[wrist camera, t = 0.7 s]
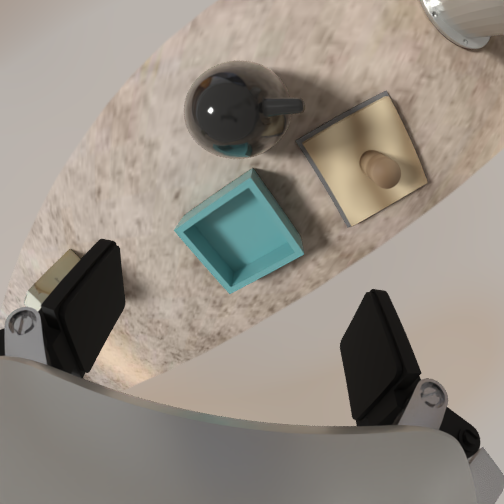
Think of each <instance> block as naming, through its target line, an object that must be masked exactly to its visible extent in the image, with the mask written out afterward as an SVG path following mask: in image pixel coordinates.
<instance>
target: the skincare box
mask: <svg viewBox="0 0 504 504" xmlns="http://www.w3.org/2000/svg"><path fill="white" fill-rule="evenodd" d="M79 261H80V258H79V257H78V256H77V255H76V254H75V253H74V252H73V251H72V250H70V249H69V250H68V251H67V252H66V253H65V254H64V255H63V256H62V257H61V258H60V259H59V260H58V261H57V262H56V263H55V264H54V265H53V266H52V267H50V268H49V269H48V270H47V271H46V272H45V273H44V274H43V275H42V276H41V277H40V279H39V280H38V281H37V282H36V283H35V284H34V285H33V286H32V287H31V288H30V289H29V290H28V291H27V294H26V297H25V301H24V305H25V306H26V307H31V308H34V309H35V310H37V311H39V310H40V308H41V304H42V303H43V302H44V300H45V299H46V298H47V297H48V296H49V294H50V293H51V292H52V291H53V290H54V289H55V287H56V286H57V285H58V284H59V283H60V282H61V280H62V279H63V278H64V277H65V276H66V275H67V274H68V273H69V271H70V270H71V269H72V268H73V267H74V266H75V265H76V264H77V263H78V262H79Z"/></svg>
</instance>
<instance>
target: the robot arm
mask: <svg viewBox="0 0 504 504" xmlns="http://www.w3.org/2000/svg"><path fill="white" fill-rule="evenodd" d="M420 2H421V5H422V7H423V9H424V11H425V13H426V14H427V16H428V18H429V19H430V20H431V22H432V23H433V24H434V26H435V27H436V28H437V29H438V30H439V31H440V32H441V33H442V34H443V35H444V36H445V37H446V38H447V39H449V40H450V41H452V42H453V43H455V44H457V45H459V46H460V47H463V48H467V49H479V48H481V47H484V46H485V45H486V44H487V43H488V41H489V39H490V36H497V35H504V0H420ZM124 307H125V294H124V286H123V277H122V267H121V256H120V248H119V246H117V245H116V242H114V241H111V240H106V239H100V240H99V241H98V242H97V243H96V244H95V245H94V246H93V247H92V248H91V249H90V250H89V251H88V252H87V253H86V254H85V255H84V256H83V257H82V258H81V259H80V261H79V262H78V263H77V264H76V265H75V266H74V267H73V268H72V269H71V270H70V271H69V273H68V274H67V275H66V276H65V277H64V278H63V279H62V280H61V282H60V283H59V284H58V285H57V286H56V287H55V289H54V290H53V291H52V292H51V293H50V294H49V296H48V297H47V298H46V299H45V300H44V302H43V303H42V304H41V308H40V310H39V311H37V310H35V309H34V308H31V307H22V308H19V309H16V310H15V311H13V312H12V313H11V314H10V315H9V316H8V318H7V320H6V322H5V328H4V329H1V330H0V504H495V502H496V501H497V499H498V497H499V496H500V494H501V493H502V491H503V488H504V475H503V473H502V472H501V470H500V469H499V468H498V466H497V465H496V464H495V462H494V461H493V460H492V458H491V457H490V456H489V454H488V453H487V452H486V450H485V449H484V448H483V447H482V448H480V449H479V447H480V437H479V434H478V432H477V430H476V429H475V428H474V427H473V426H472V425H471V424H469V423H468V422H467V421H465V420H464V419H463V418H461V417H460V416H458V415H457V414H456V413H454V412H453V411H451V410H450V409H449V408H448V407H447V404H448V396H447V393H446V390H445V389H444V388H443V386H442V385H441V384H440V383H439V382H437V381H435V380H433V379H429V378H426V379H422V380H421V379H420V376H419V375H420V374H421V371H420V368H419V366H418V363H417V360H416V358H415V355H414V353H413V350H412V348H411V345H410V343H409V340H408V338H407V336H406V333H405V331H404V329H403V326H402V324H401V322H400V319H399V317H398V315H397V313H396V310H395V308H394V306H393V304H392V302H391V299H390V297H389V295H388V293H387V292H386V291H382V290H375V289H372V290H371V291H370V292H367V293H366V294H365V295H364V298H363V300H362V302H361V304H360V306H359V308H358V310H357V311H356V313H355V315H354V318H353V320H352V321H351V323H350V325H349V327H348V329H347V330H346V332H345V334H344V336H343V338H342V340H341V343H340V350H341V356H342V361H343V366H344V372H345V376H346V382H347V388H348V394H349V400H350V406H351V412H352V417H353V419H355V420H356V424H357V426H303V425H288V424H276V423H266V422H257V421H248V420H241V419H234V418H228V417H222V416H216V415H210V414H205V413H200V412H195V411H190V410H186V409H181V408H177V407H173V406H169V405H165V404H160V403H157V402H153V401H149V400H146V399H142V398H139V397H135V396H132V395H129V394H126V393H122V392H119V391H116V390H113V389H110V388H107V387H105V386H102V385H99V384H96V383H93V382H90V381H88V380H85V379H82V378H83V376H84V374H85V372H86V373H88V372H89V371H90V370H91V368H92V366H93V364H94V362H95V360H96V358H97V357H98V355H99V353H100V351H101V349H102V347H103V345H104V343H105V342H106V340H107V338H108V336H109V334H110V332H111V331H112V329H113V327H114V325H115V323H116V322H117V320H118V318H119V316H120V315H121V313H122V311H123V309H124Z"/></svg>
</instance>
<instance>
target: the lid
mask: <svg viewBox="0 0 504 504" xmlns="http://www.w3.org/2000/svg"><path fill="white" fill-rule="evenodd" d="M302 144H303V146H304V147H305V149H306V150H307V152H308V153H309V155H310V156H311V158H312V160H313V161H314V163H315V164H316V166H317V168H318V169H319V171H320V172H321V174H322V176H323V177H324V179H325V181H326V182H327V184H328V186H329V187H330V189H331V191H332V193H333V194H334V196H335V198H336V200H337V201H338V203H339V205H340V207H341V208H342V210H343V212H344V214H345V216H346V217H347V219H348V221H349V223H350V225H351V226H354V225H356V224H357V223H359V222H361V221H363V220H364V219H366V218H368V217H370V216H371V215H373V214H375V213H377V212H378V211H380V210H382V209H384V208H385V207H387V206H389V205H390V204H392V203H394V202H396V201H397V200H399V199H401V198H402V197H404V196H406V195H408V194H409V193H411V192H413V191H414V190H416V189H418V188H419V187H421V186H423V185H424V184H426V183H428V181H427V179H426V176H425V173H424V171H423V168H422V166H421V163H420V161H419V158H418V156H417V153H416V151H415V149H414V146H413V144H412V142H411V140H410V137H409V135H408V133H407V131H406V129H405V127H404V125H403V122H402V120H401V118H400V116H399V114H398V112H397V110H396V109H395V107H394V105H393V103H392V101H391V99H390V97H389V96H385V97H383V98H381V99H379V100H377V101H375V102H373V103H371V104H369V105H367V106H366V107H364V108H362V109H360V110H358V111H356V112H355V113H353V114H351V115H349V116H347V117H345V118H344V119H342V120H340V121H338V122H337V123H335V124H333V125H331V126H330V127H328V128H326V129H324V130H323V131H321V132H319V133H318V134H316V135H314V136H312V137H311V138H309V139H307V140H306V141H304V142H302Z"/></svg>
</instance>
